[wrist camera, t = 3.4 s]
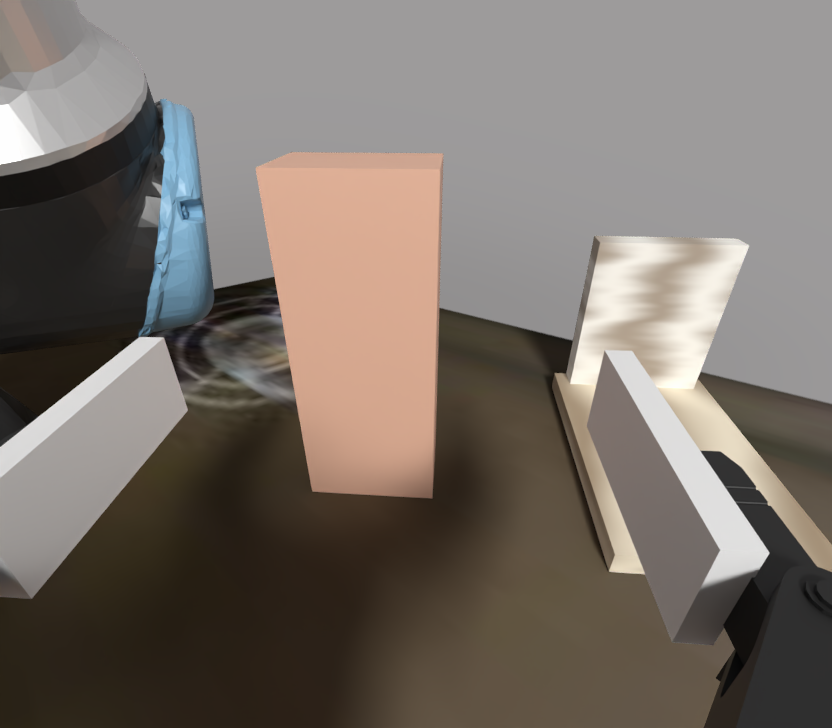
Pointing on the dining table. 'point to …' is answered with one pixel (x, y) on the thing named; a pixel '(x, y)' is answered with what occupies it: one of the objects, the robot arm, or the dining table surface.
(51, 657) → the dining table surface
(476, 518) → the dining table surface
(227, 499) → the dining table surface
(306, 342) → the salmon pink rectangular block
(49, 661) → the dining table surface
